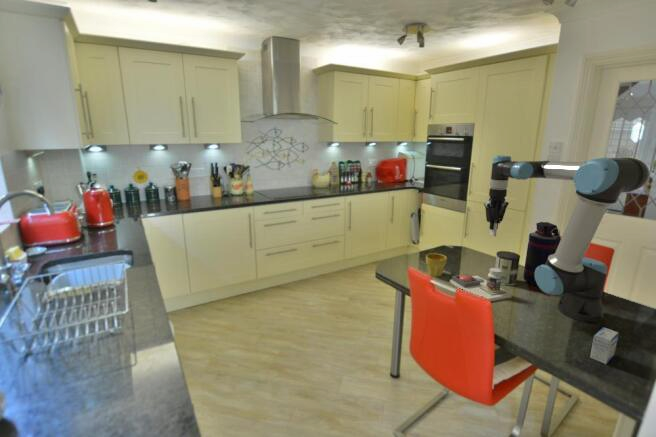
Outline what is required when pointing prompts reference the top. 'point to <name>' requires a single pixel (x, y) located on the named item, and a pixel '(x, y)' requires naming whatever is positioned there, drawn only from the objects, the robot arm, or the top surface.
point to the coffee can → (507, 266)
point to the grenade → (540, 248)
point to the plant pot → (435, 264)
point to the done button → (466, 278)
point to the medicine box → (604, 345)
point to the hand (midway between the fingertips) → (492, 235)
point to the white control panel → (479, 288)
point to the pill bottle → (494, 280)
